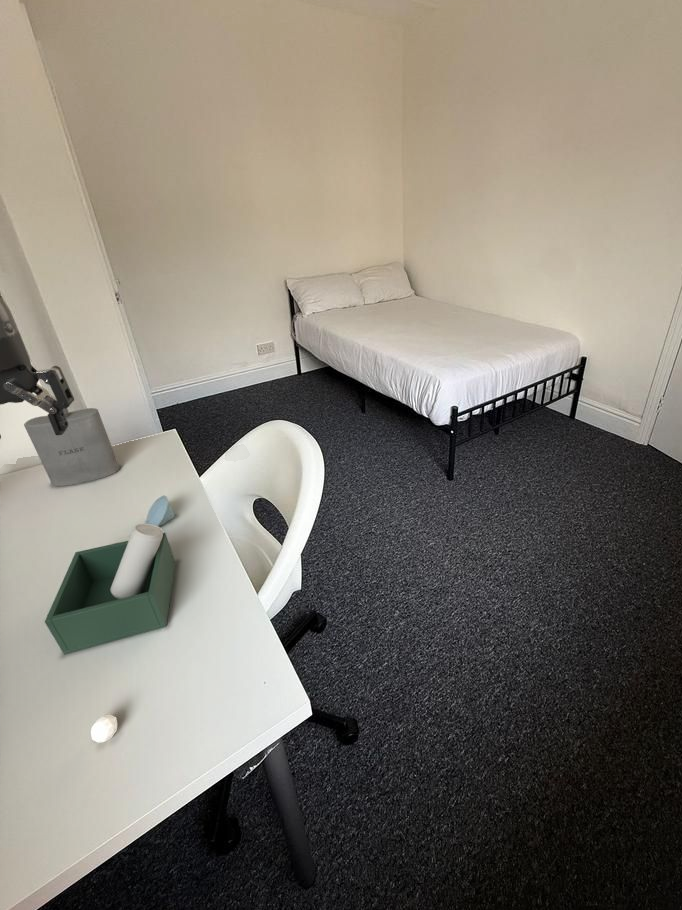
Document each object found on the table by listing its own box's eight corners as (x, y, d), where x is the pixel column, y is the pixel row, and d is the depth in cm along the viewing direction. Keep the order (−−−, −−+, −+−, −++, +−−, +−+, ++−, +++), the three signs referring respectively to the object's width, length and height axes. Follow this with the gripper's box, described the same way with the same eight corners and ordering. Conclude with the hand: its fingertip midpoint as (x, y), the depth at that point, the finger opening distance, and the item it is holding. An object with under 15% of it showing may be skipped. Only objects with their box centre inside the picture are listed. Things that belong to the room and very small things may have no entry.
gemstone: (183, 493, 95) (161, 487, 92) (186, 516, 90) (164, 510, 86) (163, 517, 96) (142, 512, 93) (166, 541, 91) (143, 536, 87)
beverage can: (102, 591, 70) (127, 525, 70) (127, 582, 75) (150, 521, 75) (122, 604, 69) (148, 538, 69) (146, 595, 74) (170, 533, 73)
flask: (49, 490, 103) (14, 419, 93) (55, 478, 107) (22, 409, 98) (118, 475, 108) (92, 406, 99) (120, 464, 113) (95, 397, 104)
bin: (64, 655, 65) (44, 622, 61) (90, 583, 77) (75, 552, 73) (166, 626, 69) (153, 594, 65) (175, 562, 81) (165, 532, 77)
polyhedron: (125, 721, 56) (118, 708, 55) (113, 747, 53) (105, 734, 52) (103, 722, 56) (95, 710, 55) (90, 748, 53) (82, 736, 52)
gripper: (54, 322, 61) (89, 419, 69) (-66, 330, 57) (-15, 432, 65) (32, 336, 55) (74, 442, 62) (-104, 345, 51) (-43, 457, 58)
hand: (28, 437), depth 63 cm, fingers open, 8 cm apart
